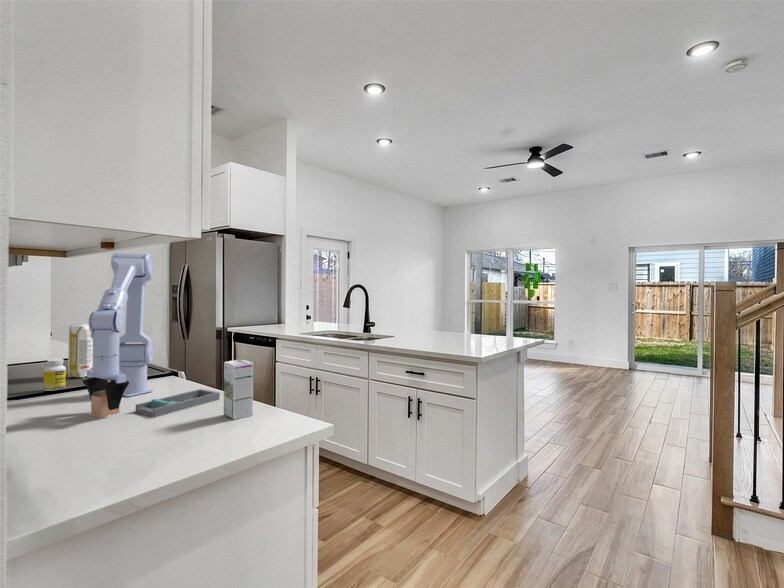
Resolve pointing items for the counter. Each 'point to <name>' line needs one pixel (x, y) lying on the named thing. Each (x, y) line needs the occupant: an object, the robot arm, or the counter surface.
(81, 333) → the juice carton
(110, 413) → the tan cardboard cube box
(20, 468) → the counter surface
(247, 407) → the syrup box
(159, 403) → the pusher
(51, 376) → the supplement bottle
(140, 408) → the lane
